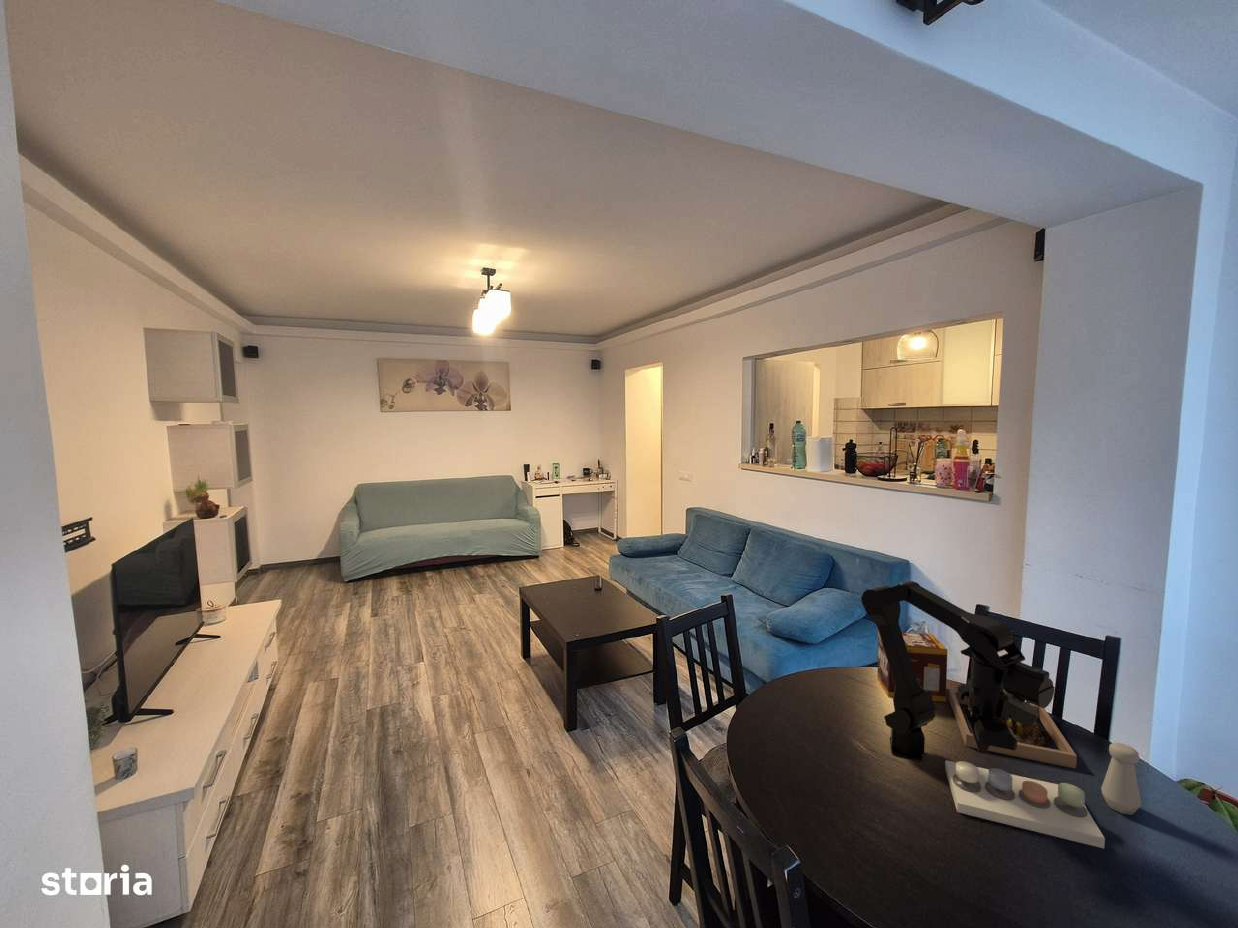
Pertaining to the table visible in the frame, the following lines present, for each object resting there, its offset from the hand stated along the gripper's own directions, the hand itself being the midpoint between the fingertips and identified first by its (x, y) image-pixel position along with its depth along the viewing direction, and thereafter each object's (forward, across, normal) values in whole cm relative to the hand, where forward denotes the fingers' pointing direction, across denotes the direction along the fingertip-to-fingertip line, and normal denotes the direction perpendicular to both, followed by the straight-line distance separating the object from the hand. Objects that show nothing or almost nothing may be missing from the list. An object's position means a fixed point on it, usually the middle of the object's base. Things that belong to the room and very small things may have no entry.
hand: (981, 752), depth 107 cm
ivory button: (+6, 0, +2) cm, 6 cm away
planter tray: (+10, +28, -12) cm, 32 cm away
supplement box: (+11, +42, +7) cm, 44 cm away
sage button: (+6, -1, -15) cm, 16 cm away
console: (+10, -1, -6) cm, 11 cm away
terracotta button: (+7, -1, -9) cm, 12 cm away
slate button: (+6, 0, -3) cm, 7 cm away
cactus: (+10, +30, -13) cm, 34 cm away
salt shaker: (+9, +6, -26) cm, 28 cm away
